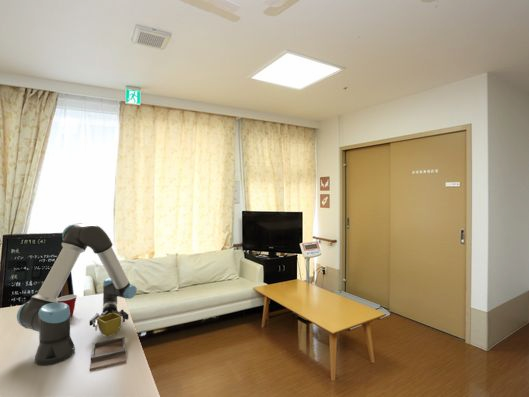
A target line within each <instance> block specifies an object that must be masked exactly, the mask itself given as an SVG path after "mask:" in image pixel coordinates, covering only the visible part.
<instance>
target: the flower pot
mask: <svg viewBox="0 0 529 397" xmlns="http://www.w3.org/2000/svg"><path fill="white" fill-rule="evenodd" d="M97 322H98V326H97V328H98V329H99V332H100V333H101V334H102V336H104V337H106V338H108V337H111V336H113V335H115V334H117V333H118V331H119V330H120V328H121V316H120V315H118V314H116V313H110V314H107V315H105V316H101V317H98V318H97Z"/></svg>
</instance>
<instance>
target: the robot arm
mask: <svg viewBox="0 0 529 397" xmlns="http://www.w3.org/2000/svg"><path fill="white" fill-rule="evenodd" d="M61 237H62V242H61V247H62V249H61V250H60V252H59V254H58V256H57V257H56V260H55V262H54V263H53V265H52V267H51V269H50V271H49V272H48V274H47V276H46V278H45V280H44V281H43V283H42V285H41V287H40V288H39V290H38V292H37V293H36V294H34V295H32V296H31V297H30V299H29V301H27V302H25V303H23V304H22V305H21V306H20V307H19V309H18V311H17V314H16V321H17V323H18V324H19V325H20V326H21V327H23V328H24V329H26V330H27V329H29V330H32V331H35V332H38V333H39V334H38V336H39V337H38V338H39V342H38V343H39V344H38V346H37V349H36V352H35V355H34V363H35V364H36V365H38V366H51V365H55V364H59V363H62V362H64V361H66V360H68V359H70V358H71V357H72V356H74V354H75V352H76V346H75V344H74V341H73V340H72V337H71V317H70V309H69V306H68V305H67V304H65V303H62V302H59V303H58V301H57V298H59V295H60V293H61V291H62V289H63V288H64V286H65V284H66V281H67V279H68V278H69V276H70V274H71V271H72V270H73V267H74V266H75V264H76V262H77V260H78V258H79V257H80V255H81V254H82V253H84V252H86V250H87V248H88V247H89V248H90V249H91V250H92V252H93V253H94V255H95V254H96V255H97V256H98V258H99V260H100V263H101V264H102V265H103V267H104V270H105V271H106V272H107V275H108V276H109V277H108V278H105V279H103V284H102V285H103V286H102V291H103V292H102V293H103V294H102V295H103V297H102V298H103V299H102V300H103V301H102V302H103V303H102V312H101V313H98V312H97V313H95V315H93V317H92V318H90V320H89V326H92V327H93V328H94V329H95V330H94V331H98V322H97V318H98V317H101V316H105V315H107V314H110V313H116V314H118V315H120V316H121V324H120V327H124V326H123V324H124V323H125V322H126V320H129V314H128V313H127V312H126V311H125V310H124V309H120V311H119V310H118V297H119V298H122V299H123V298H124V299H129V300H130V299H132V298H134V297H135V296H136V294H137V291H138V290H137V287H136V286H135V285H133V284H131V283H130V281H129V279H128V277H127V275H126V273H125V271H124V269H123V267H122V265H121V263H120V261H119V259H118V257H117V255H116V253H115V251H114V249H113V242H112V240H111V239H110V237H109V235H108V234H107V233H106V231H105V230H104V229H103V228H102V227H100V226H99V225H97V224H92V223H91V224H89V223H87V224H86V223H80V222H79V223H73V224H72V223H71V224H69V225H68V226H66V227H65V228H64V229H63V232H62V234H61Z"/></svg>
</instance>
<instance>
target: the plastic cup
mask: <svg viewBox="0 0 529 397" xmlns="http://www.w3.org/2000/svg"><path fill="white" fill-rule="evenodd" d="M77 297H78V295H77V294H69V295H68V294H67V295H63V296H60V297H59V296H58V297H57V301H58V303H59V302H62V303H65V304H67V305H68V306H69V309H70V318H72V317H73V315H74V311H75V306H76V300H77Z"/></svg>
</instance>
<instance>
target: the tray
mask: <svg viewBox="0 0 529 397" xmlns="http://www.w3.org/2000/svg"><path fill="white" fill-rule="evenodd" d="M126 356H127V355H126V339H125V336H123V337H118V338H113V339H109V340H103V341H99V342H98V341H97V342H93V343H92V346H91V352H90V362H89V372H90V371H91V372H92V371H96V370H100V369H104V368H108V367H114V366H117V365H121V364H126V363H127V360H126Z"/></svg>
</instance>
